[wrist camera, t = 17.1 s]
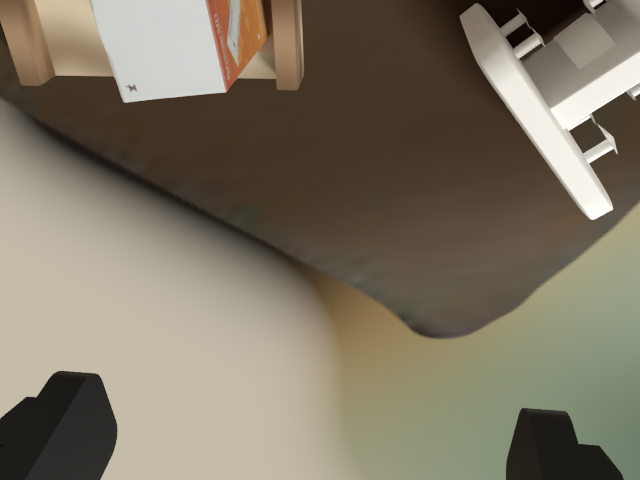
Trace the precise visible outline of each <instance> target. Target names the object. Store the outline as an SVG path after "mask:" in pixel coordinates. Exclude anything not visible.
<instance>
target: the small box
mask: <svg viewBox="0 0 640 480" xmlns="http://www.w3.org/2000/svg"><path fill="white" fill-rule="evenodd" d="M89 2H90V5H91V8H92V11H93V15H94V19H95V23H96V26H97V30H98V33H99V36H100V38H101V41H102V44H103V46H104V49H105V51H106V53H107V56H108V59H109V62H110V65H111V67H112V70H113V73H114V76H115V79H116V82H117V85H118V88H119V91H120V94H121V97H122V99H123V102H125V103H127V102H134V101H143V100H151V99H160V98H171V97H181V96H190V95H201V94H211V93H223V92H227V90H228V89H229V88H230V86H231V85H232V84H233V82H234V81H235V80H236V79H237V77H238V76H239V75H240V73H241V72H242V71H243V69H244V68H245V67H246V66H247V64H248V63H249V62H250V60H251V59H252V58H253V57H254V55H255V54H256V53H257V51H258V50H259V49H260V47H261V46H262V45H263V43H264V42H265V41H266V39H267V38H268V37H269V36H270V28H269V24H268V19H267V14H266V9H265V4H264V0H89Z"/></svg>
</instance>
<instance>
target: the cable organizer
mask: <svg viewBox="0 0 640 480" xmlns="http://www.w3.org/2000/svg"><path fill="white" fill-rule="evenodd" d="M602 1H603V0H583V2H584V4H585V6H586V7H587V8H588V9H589V10H590V11H591V12H592V13H591V14H588V13H585V14H584V15H582V16H581V17H580V18H578V19H577V20H576V21H574V22H573V23H572V24H571V25H569V26H568V27H567V28H565V29H564V30H563V31H561V32H560V33H559V34H558V35H556V36H555V37H554V40H552V41H551V42H549V43H548V44H546V45H544V42H543V39H542V37H541V36H540V35H539V34H538V33H537V32H536V31H535V30H534V29H533V28H532V27H531V26H530V27H531V28H532V30H533V31H534V34H533V35H532V36H530V37H529V38H527V39H526V40H525V41H523V42H522V43H520V44H519V45H518V46H516V47H515V48H512V46H511V45H510V43H509V42H508V40H507V39H506V36H507V35H509V34H510V33H512V32H513V31H514V30H516V29H517V28H518V27H520V26H521V25H522V24H524V23H525V22H526V24H527V25H528V27H529V24H528V22H527V19H526V17H525V16H524V15H523V14H522V13H521V12H520V11H519V10H518V9H517V8H516V9H517V10H518V12H519V13H520V14H518V15H517V16H516V17H514V18H513V19H512V20H510V21H509V22H508V23H506V24H505V25H504V26H502V27H501V28H500V29H499V27H498V26H497V24H496V23H495V21H494V20H493V19H492V17H491V16H490V15H489V14H488V12H487V11H486V10H485V9H484V8H483V7H482V6H481V5H480V4H478V3H475V4H474V5H473V6H472V7H470V8H469V9H468V10H466V11H465V12H464V13H463V14H461V15H460V20H461V23H462V26H463V28H464V31H465V34H466V37H467V39H468V42H469V45H470V47H471V50H472V52H473V55H474V57H475V59H476V61H477V63H478V65H479V67H480V68H481V70H482V72H483V73H484V75H485V76H486V78H487V79H488V81H489V82H490V84H491V85H492V87H493V88H494V89H495V91H496V92H497V94H498V95H499V96H500V98H501V99H502V101H503V102H504V103H505V105H506V106H507V108H508V109H509V110H510V112H511V113H512V115H513V116H514V117H515V119H516V120H517V122H518V123H519V124H520V126H521V127H522V129H523V130H524V131H525V133H526V134H527V136H528V137H529V138H530V140H531V141H532V143H533V144H534V145H535V147H536V148H537V150H538V151H539V152H540V154H541V155H542V157H543V158H544V159H545V161H546V162H547V164H548V165H549V166H550V168H551V169H552V171H553V172H554V173H555V175H556V176H557V178H558V179H559V180H560V182H561V183H562V185H563V186H564V187H565V189H566V190H567V192H568V193H569V194H570V196H571V197H572V199H573V200H574V201H575V203H576V204H577V205H578V207H579V208H580V209H581V210H582V211H583V213H584V214H585V215H586V216H587V217H588V218H590V219H591V220H594V219H596V218H598V217H600V216H602V215H603V214H605V213H607V212H609V211H611V210H613V206H612V203H611V201H610V198H609V196H608V194H607V192H606V191H605V189H604V187H603V186H602V184H601V182H600V181H599V179H598V177H597V176H596V174H595V173H594V171H593V169H592V168H591V166H590V165H589V163H590V162H592V161H593V160H595V159H597V158H598V157H600V156H602V155H603V154H605V153H607V152H608V151H610V150H612V149H613V148H614V150H615V151H616V153H617V149H616V145H615V141H614V137H613V136H611V135H610V134H609V133H608V132H607V131H606V130H604V129H603V128H602V127H601V126H600V125H598V126H599V127H600V129H601V130H602V132H603V133H604V135H605V137H606V138H607V139H606V140H605V141H603V142H601V143H600V144H598V145H597V146H595V147H593V148H592V149H590V150H588V151H587V152H585V153H582V152H581V150H580V148H579V147H578V145H577V143H576V142H575V140H574V139H573V137H572V135H571V134H570V132H569V130H571V129H572V128H574V127H576V126H577V125H579V124H581V123H582V122H584V121H585V120H587V119H589V118H590V117H591V119H592V120H593V122H594V123H595V121H594V118H593V116H592V112H593V111H595V110H596V109H598V108H600V107H601V106H603V105H605V104H606V103H608V102H609V101H611V100H613V99H614V98H616V97H617V96H619V95H621V94H622V93H624V92H625V91H626V92H627V93H628V94H629V95H630V96H631V97H632V98H633V99H634V98H635V96H636V95H638V94H640V0H605V1H606V2H607V3H605V4H603V5H602V6H601V7H599V8H598V9H596V10H594V8H593V7H595V6H596V5H598V4H599V3H600V2H602ZM530 27H529V28H530ZM530 30H531V29H530ZM541 43H542V45H543V46H544V47H542V48H541V49H539V50H538V51H536V52H535V53H534V54H532V55H531V56H529V57H528V58H527V59H525V60H524V61H523V62H522V61H521V60H520V58H521V57H522V56H524V55H525V54H526V53H528V52H529V51H531V50H532V49H533V48H535V47H536V46H538V45H539V44H541ZM635 99H636V98H635ZM635 99H634V100H635ZM595 124H596V123H595Z"/></svg>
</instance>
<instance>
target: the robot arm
mask: <svg viewBox="0 0 640 480" xmlns="http://www.w3.org/2000/svg"><path fill="white" fill-rule="evenodd" d="M116 440H117V423H116V419H115V416H114V414H113V411H112V408H111V405H110V402H109V399H108V397H107V393H106V390H105V388H104V385H103V382H102V379H101V378H100V376H99V375H98V374H94V373H81V372H68V371H58V372H56V373H54V374H53V375H52V376H51V377H50V378H49V380H48V381H47V383H46V384H45V386H44V388H43V389H42V390H41V392H40V393H39V395H38V396H37V397H26V398H25V399H23V400H22V401H21V402H20V403H19V404H17V405H16V406H15V407H14V408H12V409H11V410H10V411H9V412H8V413H6V414H5V415H4V416H3V417H1V419H0V480H100V479H101V477H102V475H103V473H104V470H105V469H106V467H107V465H108V462H109V460H110V458H111V456H112V454H113V451H114V448H115V445H116ZM506 480H624V479H623V476H622V474H621V472H620V471H619V470H618V469H617V467H616V466H615V465H614V464H613V462H612V461H611V460H610V459H609V457H608V456H607V455H606V454H605V452H604V451H603V450H602V449H601V447H600V446H595V445H584V444H578V441H577V438H576V434H575V431H574V428H573V424H572V421H571V419H570V417H569V415H568V413H567V412H565V411H555V410H541V409H528V408H522V409H521V411H520V413H519V416H518V420H517V424H516V428H515V431H514V435H513V439H512V443H511V446H510V450H509V454H508V457H507V465H506Z"/></svg>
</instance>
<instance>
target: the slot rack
mask: <svg viewBox="0 0 640 480" xmlns="http://www.w3.org/2000/svg"><path fill="white" fill-rule="evenodd" d="M264 4H265V9H266V14H267V19H268V24H269V28H270V36H269V37H268V38H267V39H266V41H265V42H264V43H263V45H262V46H261V47H260V49H259V50H258V51H257V53H256V54H255V55H254V57H253V58H252V59H251V60H250V62H249V63H248V64H247V66H246V67H245V68H244V69H243V71H242V72H241V73H240V75H239V76H238V77H237V78H264V79H276V80H277V90H298V88H299V85H300V83H301V81H302V79H303V76H304V60H303V34H302V9H301V0H264ZM0 21H1V25H2V28H3V31H4V34H5V37H6V40H7V43H8V46H9V49H10V52H11V55H12V58H13V61H14V64H15V67H16V71H17V74H18V77H19V80H20V83H21V85H26V86H40V85H42V84H43V83H45V82H46V81H48V80H49V79H51V78H53V77H54V76H56V75H65V76H114V73H113V70H112V67H111V65H110V62H109V59H108V56H107V53H106V51H105V49H104V46H103V44H102V41H101V38H100V36H99V33H98V30H97V26H96V23H95V19H94V15H93V11H92V8H91V5H90V2H89V0H0Z"/></svg>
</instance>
